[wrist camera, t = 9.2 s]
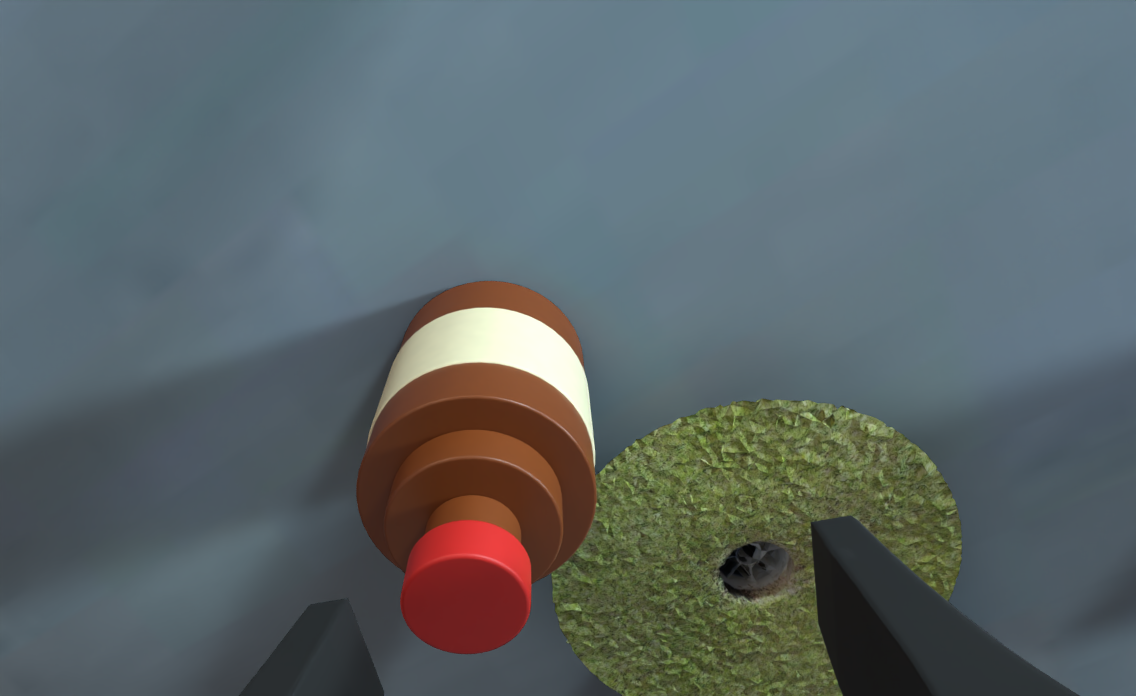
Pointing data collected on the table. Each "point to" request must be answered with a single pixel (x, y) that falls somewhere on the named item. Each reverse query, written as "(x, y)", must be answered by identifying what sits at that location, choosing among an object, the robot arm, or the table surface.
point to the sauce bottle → (480, 462)
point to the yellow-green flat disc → (741, 546)
